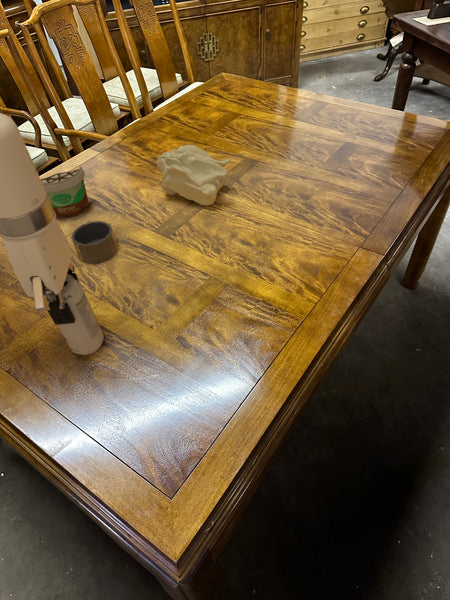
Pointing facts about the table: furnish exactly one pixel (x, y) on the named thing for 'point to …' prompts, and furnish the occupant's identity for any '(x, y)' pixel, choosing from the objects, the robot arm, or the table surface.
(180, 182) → the folded clay sculpture
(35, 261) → the robot arm
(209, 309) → the table surface
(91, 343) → the energy drink can
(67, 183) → the food container
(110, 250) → the can holder
